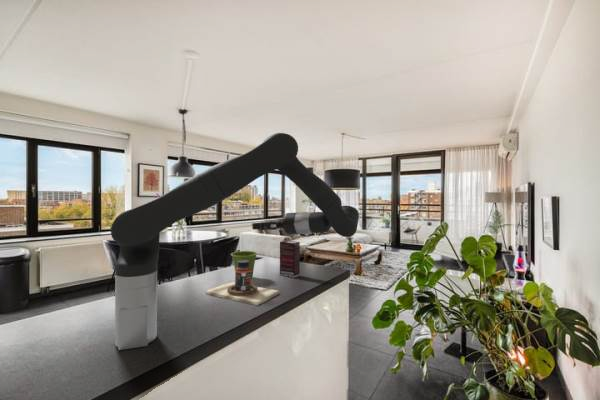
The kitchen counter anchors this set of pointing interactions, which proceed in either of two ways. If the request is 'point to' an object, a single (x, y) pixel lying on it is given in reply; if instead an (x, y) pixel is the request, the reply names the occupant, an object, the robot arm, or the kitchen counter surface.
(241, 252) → the plant pot
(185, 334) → the kitchen counter surface
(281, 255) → the supplement box
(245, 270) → the supplement bottle
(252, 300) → the stool seat board
